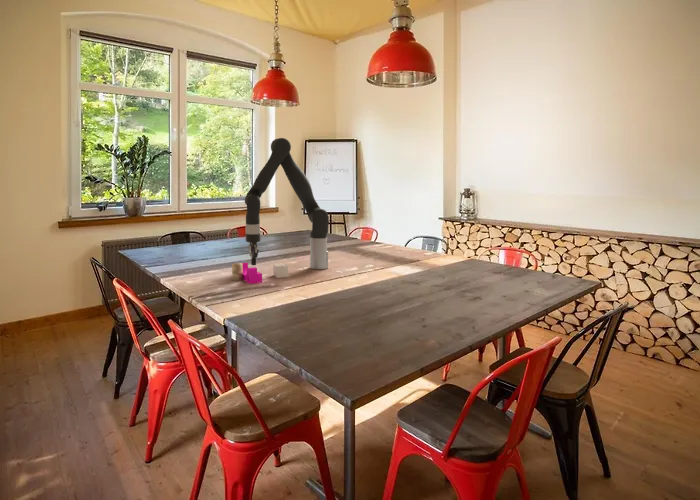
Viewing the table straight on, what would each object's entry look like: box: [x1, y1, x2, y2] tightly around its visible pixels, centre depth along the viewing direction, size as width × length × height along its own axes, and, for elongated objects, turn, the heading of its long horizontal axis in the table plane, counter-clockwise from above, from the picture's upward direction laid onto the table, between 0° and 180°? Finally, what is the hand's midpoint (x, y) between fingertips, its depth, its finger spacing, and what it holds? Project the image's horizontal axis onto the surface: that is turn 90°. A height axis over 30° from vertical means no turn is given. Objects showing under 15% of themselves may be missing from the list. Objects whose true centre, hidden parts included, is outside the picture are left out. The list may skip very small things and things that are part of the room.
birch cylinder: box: [231, 262, 244, 282], centre depth 226 cm, size 5×5×8 cm
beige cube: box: [272, 262, 289, 279], centre depth 235 cm, size 6×6×6 cm
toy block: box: [241, 262, 263, 285], centre depth 226 cm, size 15×6×8 cm, turn 32°
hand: (253, 265), depth 242 cm, fingers closed
